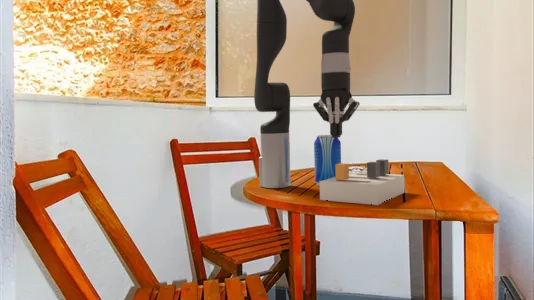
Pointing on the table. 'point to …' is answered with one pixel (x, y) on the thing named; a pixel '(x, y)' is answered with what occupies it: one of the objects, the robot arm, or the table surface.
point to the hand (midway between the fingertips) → (336, 137)
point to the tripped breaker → (342, 171)
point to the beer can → (326, 157)
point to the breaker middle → (373, 169)
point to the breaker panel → (362, 188)
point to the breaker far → (383, 166)
